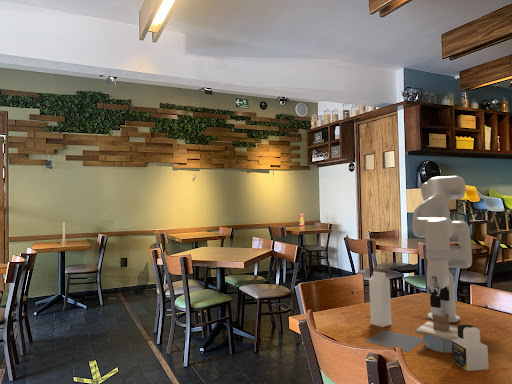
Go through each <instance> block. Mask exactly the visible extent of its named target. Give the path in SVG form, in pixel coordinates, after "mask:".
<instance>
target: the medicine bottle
mask: <svg viewBox="0 0 512 384" xmlns="http://www.w3.org/2000/svg"><path fill="white" fill-rule="evenodd" d="M457 326H458V327H457V329H458V339H452V352H451V353H452V362H453V363H454V364H455V365H457V366H459V368H461V367H462V370H465V371H466V372H473V371H486V370H489V369H490V368H489V352H488V351H489V350H488V345H486V344H484V343H483V342H481V331H480V328H479V327H477V326H475V325H472V324H460V325H457Z"/></svg>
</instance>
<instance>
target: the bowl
mask: <svg viewBox="0 0 512 384" xmlns="http://www.w3.org/2000/svg"><path fill="white" fill-rule="evenodd" d="M423 338H424V340H423V345H424V346H425V347H426V348H427V349H430V350H432V351H435V352H441V353H452V340H448V339H443V338H438V337H433V336H428V335H423Z"/></svg>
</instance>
